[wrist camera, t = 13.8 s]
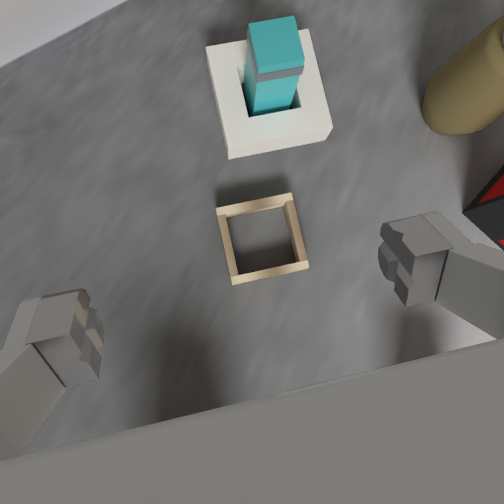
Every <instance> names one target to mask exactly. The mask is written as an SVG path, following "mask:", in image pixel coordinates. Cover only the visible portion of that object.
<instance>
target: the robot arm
mask: <svg viewBox="0 0 504 504" xmlns="http://www.w3.org/2000/svg"><path fill="white" fill-rule="evenodd" d="M380 236H381V237H382V239H383V240H384V242H383V243H382V244H381V245H380V247H379V249H378V260H379V265H380V268H381V270H382V273H383V274H384V276H385V277H386V279H387V280H389V281H391V282H394V283H395V287H394V291H395V292H396V294H397V295H398V297H399V298H400V300H401V301H402V303H403V304H404V305H405V307H409V306H414V305H419V304H424V303H429V302H433V301H436V303H437V304H439V305H441V306H442V307H444V308H446V309H447V310H449V311H451V312H452V313H454V314H456V315H457V316H459V317H461V318H462V319H464V320H466V321H467V322H469V323H471V324H473V325H474V326H476V327H478V328H479V329H481V330H483V331H484V332H486V333H488V334H489V335H491V336H493V337H494V338H496V339H498V340H494V341H490V342H486V343H481V344H477V345H473V346H469V347H465V348H461V349H457V350H453V351H449V352H445V353H440V354H436V355H432V356H428V357H424V358H420V359H416V360H412V361H408V362H404V363H400V364H395V365H391V366H387V367H383V368H379V369H375V370H371V371H367V372H363V373H359V374H355V375H350V376H346V377H342V378H338V379H334V380H330V381H326V382H322V383H318V384H314V385H310V386H305V387H301V388H297V389H293V390H289V391H285V392H281V393H277V394H273V395H269V396H264V397H260V398H256V399H252V400H248V401H244V402H240V403H236V404H232V405H228V406H223V407H219V408H215V409H211V410H207V411H203V412H199V413H195V414H191V415H187V416H182V417H178V418H174V419H170V420H166V421H162V422H158V423H154V424H150V425H146V426H142V427H137V428H133V429H129V430H125V431H121V432H117V433H113V434H109V435H105V436H101V437H96V438H92V439H88V440H84V441H80V442H76V443H72V444H68V445H64V446H60V447H56V448H51V449H47V450H43V451H39V452H35V453H31V454H27V455H23V456H21V455H22V453H23V452H24V450H25V449H26V447H27V446H28V444H29V443H30V441H31V440H32V438H33V437H34V436H35V434H36V433H37V431H38V430H39V428H40V427H41V425H42V424H43V422H44V421H45V419H46V418H47V416H48V415H49V413H50V412H51V411H52V409H53V408H54V406H55V405H56V403H57V402H58V400H59V399H60V397H61V396H62V394H63V393H64V391H65V390H66V389H65V388H66V387H70V386H74V385H77V384H81V383H85V382H89V381H93V380H97V379H99V373H100V365H101V356H100V354H99V352H98V349H99V348H100V347H101V346H102V345H103V341H104V330H103V323H102V320H101V317H100V315H99V313H98V311H97V310H96V309H94V308H92V307H90V299H91V298H90V297H89V295H88V293H87V292H86V290H85V289H82V288H81V289H76V290H70V291H65V292H60V293H55V294H50V295H45V296H41V297H36V298H31V299H26V300H23V301H22V302H21V303H20V304H19V306H18V309H17V311H16V314H15V317H14V320H13V322H12V325H11V328H10V330H9V333H8V336H7V338H6V341H5V344H4V346H3V349H2V350H1V351H0V504H504V252H503V251H500V250H497V249H495V248H492V247H489V246H486V245H483V244H480V243H477V244H473V243H472V242H471V241H470V240H469V239H468V238H466V237H465V236H464V235H463V234H462V233H461V232H460V231H459V230H458V229H457V228H456V227H455V226H454V225H453V224H452V223H451V222H450V221H449V220H448V219H447V218H446V217H445V216H443V215H442V214H441V213H440V212H438V211H432V212H428V213H424V214H420V215H418V216H413V217H408V218H404V219H399V220H395V221H390V222H386V223H383V225H382V227H381V231H380Z"/></svg>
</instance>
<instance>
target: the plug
mask: <svg viewBox="0 0 504 504" xmlns="http://www.w3.org/2000/svg"><path fill="white" fill-rule="evenodd" d="M246 41H247V54H246V70H245V86H244V91H245V96H246V100H247V104H248V109H249V113H250V117H254V116H259V115H265V114H270V113H275V112H280V111H285V110H289V109H290V106H291V103H292V99H293V96H294V93H295V90H296V87H297V83H298V80H299V77H300V75H301V74H302V73H303V70H304V61H305V57H304V53H303V49H302V45H301V41H300V36H299V32H298V28H297V24H296V20H295V16H289V17H283V18H278V19H272V20H266V21H260V22H255V23H249V24H248V30H247V32H246Z"/></svg>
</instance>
